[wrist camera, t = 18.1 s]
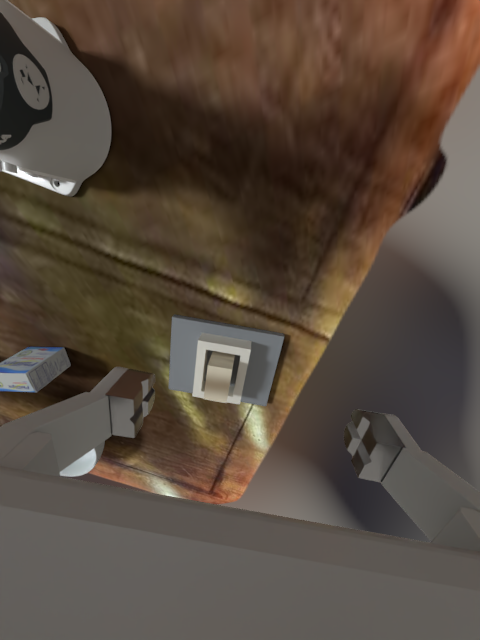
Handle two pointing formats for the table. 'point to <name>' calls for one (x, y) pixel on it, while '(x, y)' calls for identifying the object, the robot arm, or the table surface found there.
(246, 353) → the cradle
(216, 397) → the key block
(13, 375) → the medicine box
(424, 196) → the table surface
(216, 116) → the table surface
